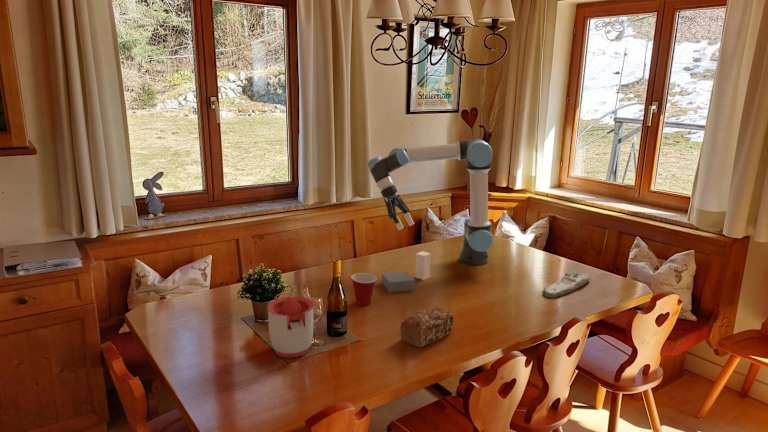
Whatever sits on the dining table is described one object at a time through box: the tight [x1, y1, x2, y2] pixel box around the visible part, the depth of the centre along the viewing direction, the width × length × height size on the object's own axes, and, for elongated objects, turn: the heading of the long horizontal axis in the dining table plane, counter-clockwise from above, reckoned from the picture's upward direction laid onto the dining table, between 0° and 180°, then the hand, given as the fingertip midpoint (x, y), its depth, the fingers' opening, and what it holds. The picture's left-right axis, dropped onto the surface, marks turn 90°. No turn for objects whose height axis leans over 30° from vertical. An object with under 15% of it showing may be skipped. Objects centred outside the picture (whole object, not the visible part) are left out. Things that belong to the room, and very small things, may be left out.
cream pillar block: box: [414, 250, 432, 281], centre depth 254 cm, size 5×5×12 cm
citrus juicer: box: [266, 296, 315, 359], centre depth 181 cm, size 16×17×20 cm
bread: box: [400, 306, 454, 348], centre depth 195 cm, size 19×11×10 cm, turn 134°
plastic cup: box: [350, 272, 378, 307], centre depth 223 cm, size 11×11×12 cm
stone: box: [542, 271, 591, 299], centre depth 245 cm, size 35×5×10 cm
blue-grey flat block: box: [381, 270, 416, 293], centre depth 243 cm, size 12×12×5 cm
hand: (406, 227), depth 254 cm, fingers open, 13 cm apart
